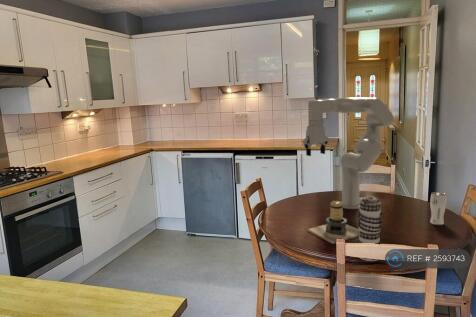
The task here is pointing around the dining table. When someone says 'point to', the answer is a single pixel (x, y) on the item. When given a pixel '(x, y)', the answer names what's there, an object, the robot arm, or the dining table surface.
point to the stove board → (332, 238)
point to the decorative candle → (369, 221)
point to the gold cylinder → (336, 213)
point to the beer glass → (437, 207)
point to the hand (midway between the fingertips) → (315, 154)
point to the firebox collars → (342, 226)
